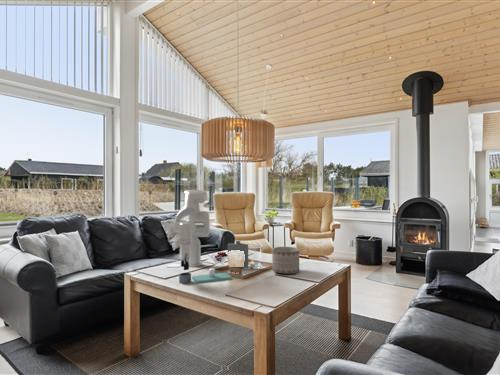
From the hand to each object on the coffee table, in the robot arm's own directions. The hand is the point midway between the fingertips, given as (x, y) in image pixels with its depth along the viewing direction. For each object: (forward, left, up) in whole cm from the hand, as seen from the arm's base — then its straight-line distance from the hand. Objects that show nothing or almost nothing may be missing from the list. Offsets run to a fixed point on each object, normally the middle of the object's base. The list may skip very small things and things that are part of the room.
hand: (184, 268), depth 209 cm
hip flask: (-24, +45, -9) cm, 52 cm away
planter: (+3, +72, -9) cm, 73 cm away
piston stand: (-1, +18, -9) cm, 20 cm away
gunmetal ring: (-1, 0, -9) cm, 9 cm away
